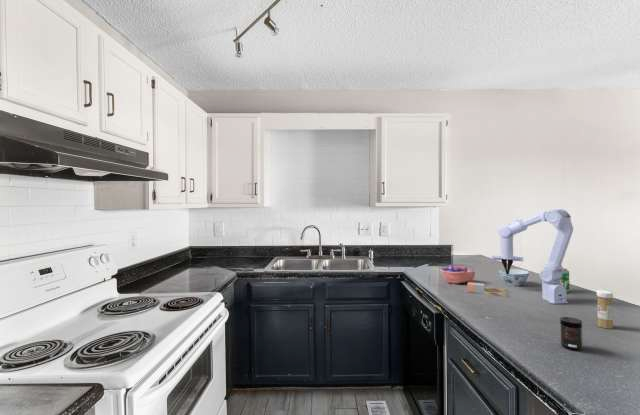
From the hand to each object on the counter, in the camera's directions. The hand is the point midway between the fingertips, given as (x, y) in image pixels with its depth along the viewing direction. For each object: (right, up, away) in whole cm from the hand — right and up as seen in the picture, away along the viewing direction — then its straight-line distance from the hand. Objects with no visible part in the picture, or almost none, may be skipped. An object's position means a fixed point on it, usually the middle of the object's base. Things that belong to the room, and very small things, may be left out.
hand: (507, 273), depth 170 cm
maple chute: (-13, -10, -4) cm, 17 cm away
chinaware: (+12, -9, +13) cm, 20 cm away
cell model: (-18, -10, +19) cm, 29 cm away
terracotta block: (-19, -9, 0) cm, 21 cm away
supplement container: (-19, -10, -67) cm, 70 cm away
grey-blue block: (-16, -9, -2) cm, 18 cm away
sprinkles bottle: (+7, -10, -51) cm, 52 cm away
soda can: (+26, -9, -3) cm, 28 cm away
